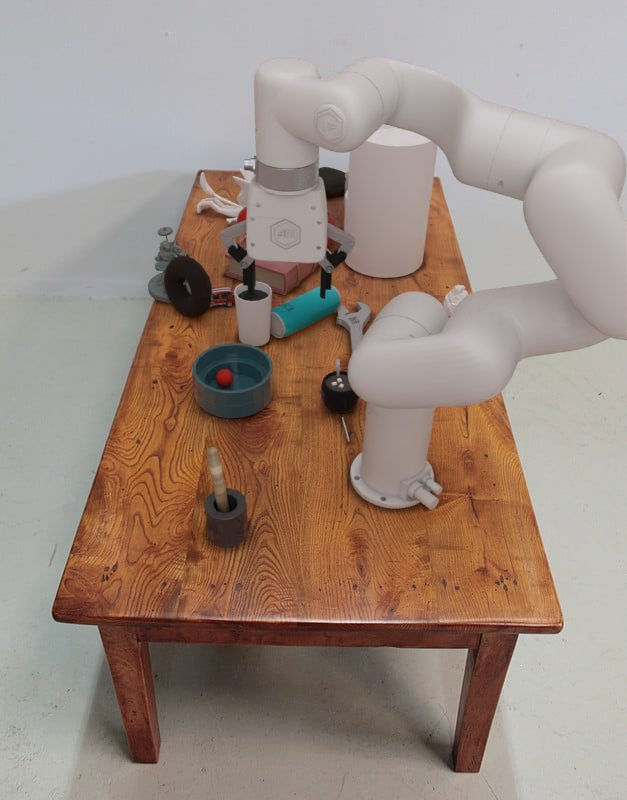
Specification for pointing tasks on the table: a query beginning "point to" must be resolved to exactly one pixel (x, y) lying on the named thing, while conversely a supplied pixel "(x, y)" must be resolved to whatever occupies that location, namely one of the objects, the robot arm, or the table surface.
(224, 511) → the stick
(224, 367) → the bowl
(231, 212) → the figurine
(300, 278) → the book
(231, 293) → the toy car
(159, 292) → the figurine
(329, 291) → the beverage can
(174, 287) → the donut
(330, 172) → the stone tool
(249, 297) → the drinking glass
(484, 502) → the table surface
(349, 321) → the adjustable wrench
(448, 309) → the garlic bulb
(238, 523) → the crock
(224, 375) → the ball
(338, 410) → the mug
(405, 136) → the cylinder
